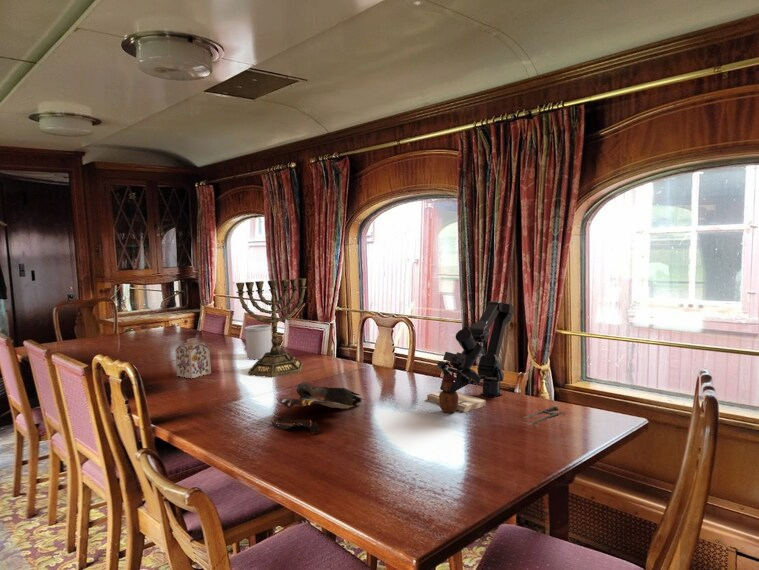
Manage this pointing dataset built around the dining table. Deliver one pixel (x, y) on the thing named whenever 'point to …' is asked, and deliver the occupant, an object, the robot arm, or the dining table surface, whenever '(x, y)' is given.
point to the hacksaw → (544, 417)
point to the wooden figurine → (448, 395)
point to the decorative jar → (193, 359)
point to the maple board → (461, 401)
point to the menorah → (275, 359)
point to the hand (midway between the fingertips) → (445, 391)
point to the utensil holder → (258, 340)
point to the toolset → (309, 397)
